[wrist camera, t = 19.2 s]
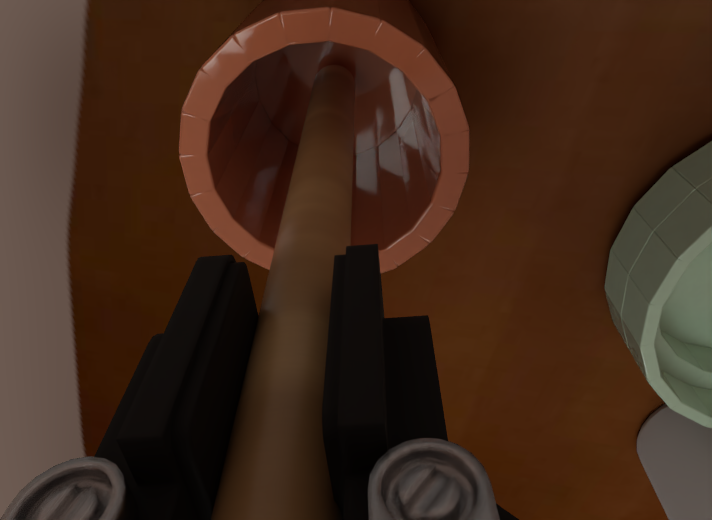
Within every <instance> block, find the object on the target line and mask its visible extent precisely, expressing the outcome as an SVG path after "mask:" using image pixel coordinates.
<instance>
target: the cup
mask: <svg viewBox="0 0 712 520" xmlns="http://www.w3.org/2000/svg"><path fill="white" fill-rule="evenodd" d="M637 453H638V455H639V458H640V461H641V463H642V465H643V467H644V469H645V471H646V473H647V475H648V478H649V480H650V482H651V484H652V486H653V488H654V490H655V492H656V494H657V496H658V498H659V500H660V502H661V504H662V506H663V508H664V510H665V512H666V514H667V517H668V519H669V520H712V428H708V427H705V426H702V425H700V424H698V423H697V422H695V421H693V420H691V419H689V418H687V417H685V416H683V415H681V414H679V413H677V412H675V411H673V410H671V409H670V408H669V407H668V406H667V405H666V404H665V405H663V406H661V407H660V408H658V409H657V410H656V411H655V412H654V413H652V414H651V415H650V416H649V417H648V418H647V420H646V421H645V422H644V424H643V425H642V427H641V430H640V432H639V435H638V438H637Z"/></svg>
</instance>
